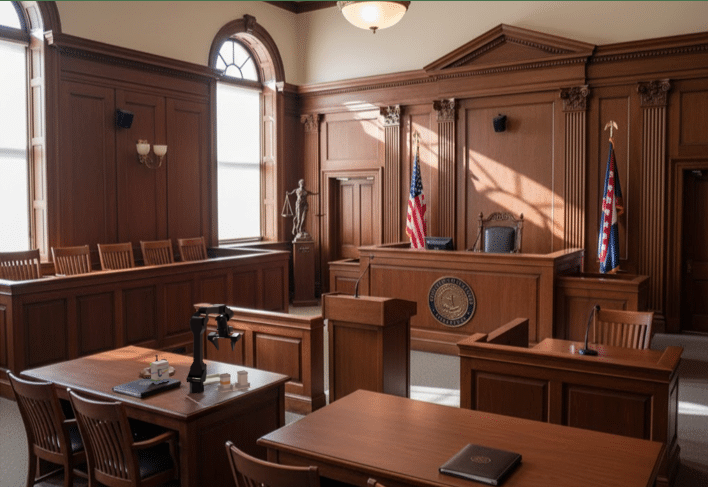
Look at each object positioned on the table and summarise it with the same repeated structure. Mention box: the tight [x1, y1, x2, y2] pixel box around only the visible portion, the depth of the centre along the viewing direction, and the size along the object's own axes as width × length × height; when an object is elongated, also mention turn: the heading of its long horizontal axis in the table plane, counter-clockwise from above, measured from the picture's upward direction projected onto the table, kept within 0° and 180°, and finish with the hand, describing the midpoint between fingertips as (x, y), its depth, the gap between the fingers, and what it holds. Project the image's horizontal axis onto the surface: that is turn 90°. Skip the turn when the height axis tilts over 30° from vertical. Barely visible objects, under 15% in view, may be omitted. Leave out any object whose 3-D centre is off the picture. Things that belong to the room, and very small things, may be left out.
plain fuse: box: [236, 370, 249, 388], centre depth 355 cm, size 4×4×8 cm
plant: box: [139, 353, 176, 379], centre depth 386 cm, size 20×20×11 cm
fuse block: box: [215, 381, 253, 394], centre depth 352 cm, size 18×9×3 cm, turn 126°
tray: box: [193, 373, 221, 386], centre depth 368 cm, size 15×15×2 cm
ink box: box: [150, 359, 170, 382], centre depth 366 cm, size 9×5×12 cm, turn 143°
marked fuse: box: [219, 372, 232, 391], centre depth 349 cm, size 4×4×8 cm
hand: (225, 350), depth 377 cm, fingers open, 9 cm apart
